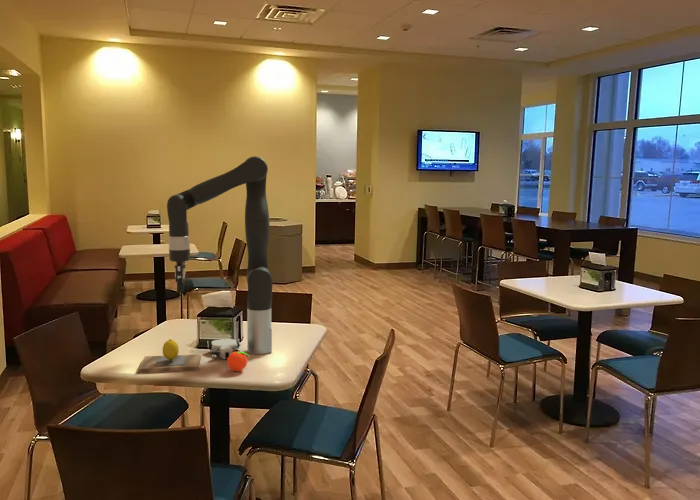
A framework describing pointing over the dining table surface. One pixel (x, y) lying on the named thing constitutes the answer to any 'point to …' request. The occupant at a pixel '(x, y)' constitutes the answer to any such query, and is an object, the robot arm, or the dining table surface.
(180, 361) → the serving board
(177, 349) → the lemon
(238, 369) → the clementine
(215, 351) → the robot toy
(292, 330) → the dining table surface
